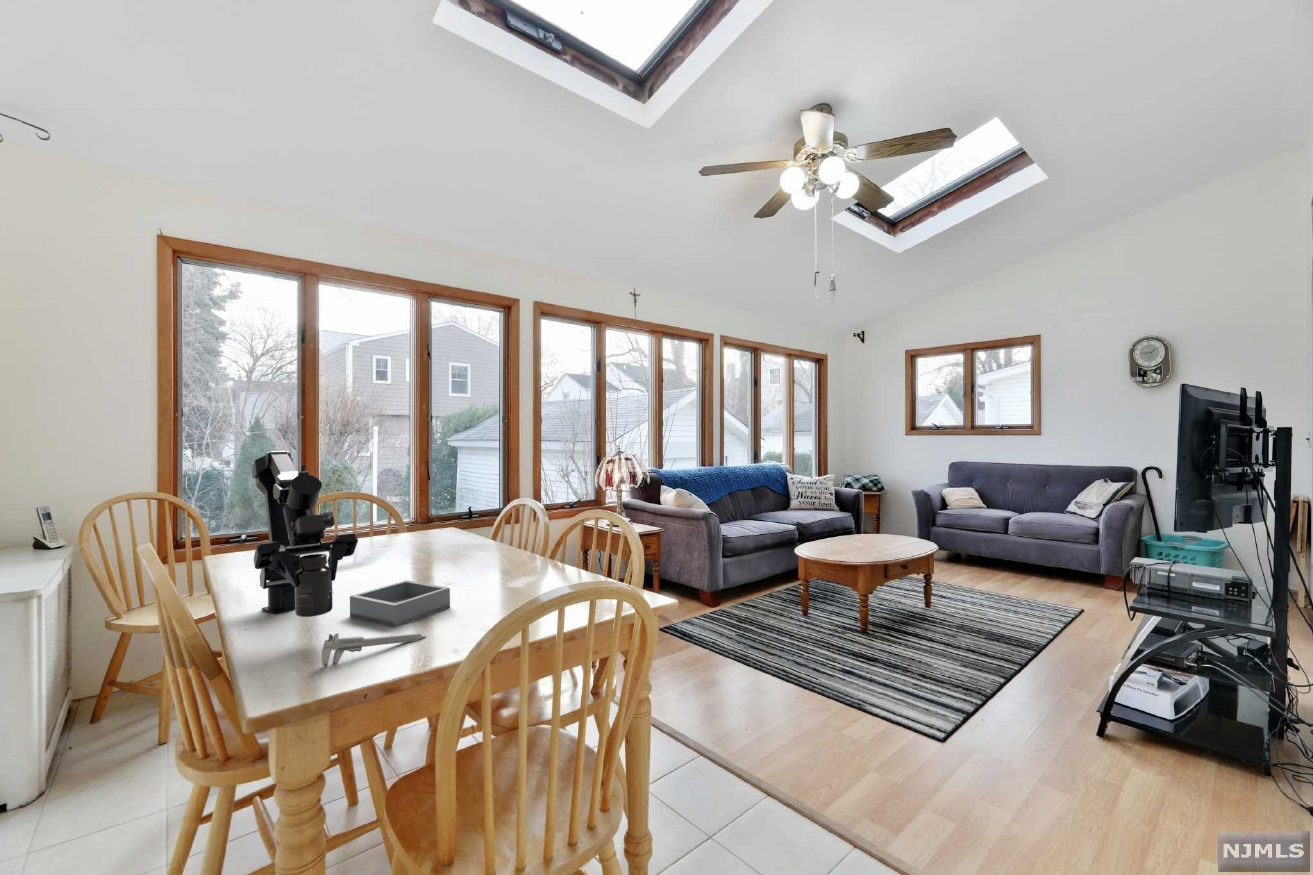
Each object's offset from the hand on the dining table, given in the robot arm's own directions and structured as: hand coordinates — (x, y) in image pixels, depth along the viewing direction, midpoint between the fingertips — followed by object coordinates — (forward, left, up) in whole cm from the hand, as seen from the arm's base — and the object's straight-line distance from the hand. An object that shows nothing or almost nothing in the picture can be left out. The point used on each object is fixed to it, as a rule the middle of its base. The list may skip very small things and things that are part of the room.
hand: (315, 582), depth 119 cm
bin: (-2, +22, -13) cm, 26 cm away
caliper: (+15, +4, -13) cm, 20 cm away
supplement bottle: (-1, 0, -7) cm, 7 cm away
